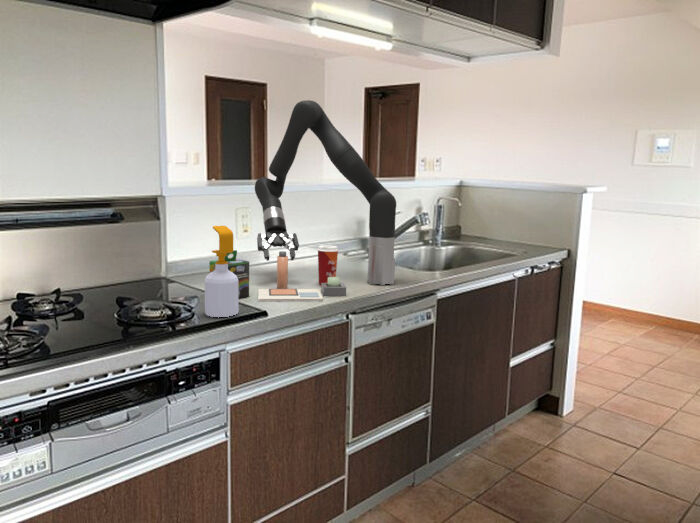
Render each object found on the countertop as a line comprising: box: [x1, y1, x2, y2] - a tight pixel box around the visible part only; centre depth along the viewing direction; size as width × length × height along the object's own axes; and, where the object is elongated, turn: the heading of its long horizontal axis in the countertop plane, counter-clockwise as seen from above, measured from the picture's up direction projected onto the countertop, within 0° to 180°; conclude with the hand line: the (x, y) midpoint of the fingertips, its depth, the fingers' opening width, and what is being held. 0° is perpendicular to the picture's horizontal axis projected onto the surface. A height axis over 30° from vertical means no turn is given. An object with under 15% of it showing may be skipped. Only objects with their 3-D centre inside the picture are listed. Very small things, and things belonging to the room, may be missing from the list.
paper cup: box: [316, 244, 340, 285], centre depth 201 cm, size 8×8×14 cm
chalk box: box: [209, 249, 250, 299], centre depth 180 cm, size 9×9×15 cm
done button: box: [328, 276, 341, 287], centre depth 188 cm, size 4×4×4 cm
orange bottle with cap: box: [276, 250, 289, 289], centre depth 194 cm, size 4×4×13 cm
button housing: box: [320, 282, 347, 297], centre depth 189 cm, size 7×7×3 cm
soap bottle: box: [204, 225, 239, 319], centre depth 157 cm, size 9×9×25 cm
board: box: [257, 288, 324, 302], centre depth 184 cm, size 20×14×1 cm
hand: (280, 259), depth 196 cm, fingers open, 8 cm apart
